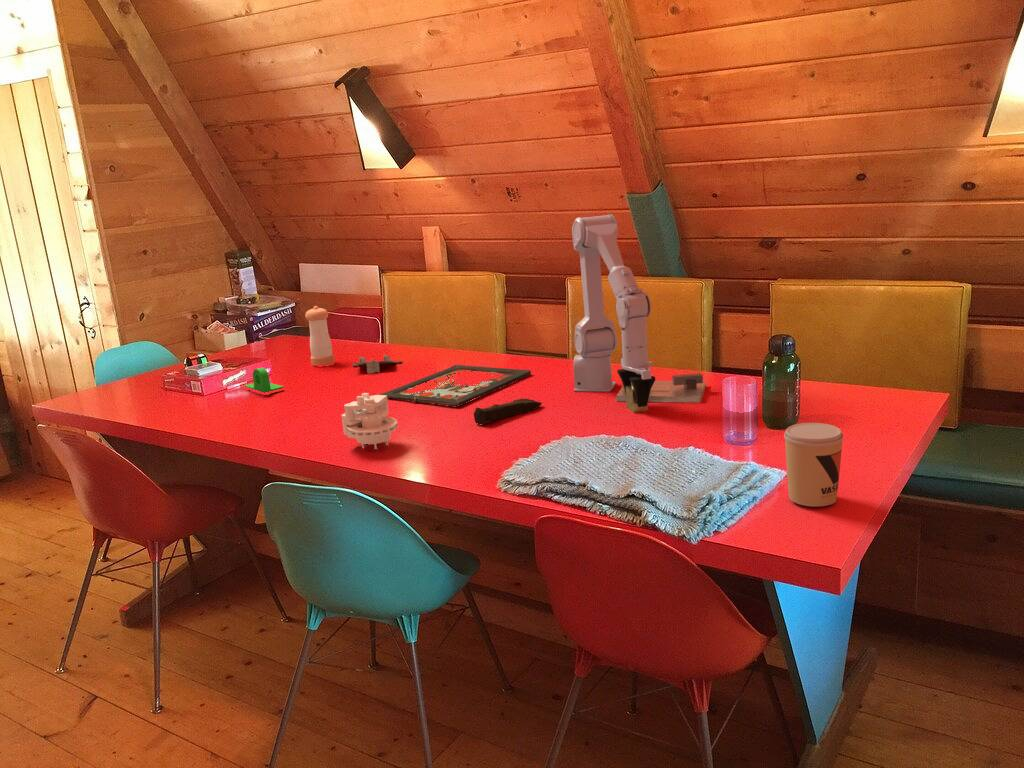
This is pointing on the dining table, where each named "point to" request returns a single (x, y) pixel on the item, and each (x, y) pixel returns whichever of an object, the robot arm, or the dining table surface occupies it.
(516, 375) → the painting
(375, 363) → the metal bracket
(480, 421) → the hand tool
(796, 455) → the coffee cup
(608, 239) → the robot arm
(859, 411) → the dining table surface
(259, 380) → the mechanical part
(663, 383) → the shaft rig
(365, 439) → the mechanical part
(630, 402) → the tan block with knob
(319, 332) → the salt shaker
